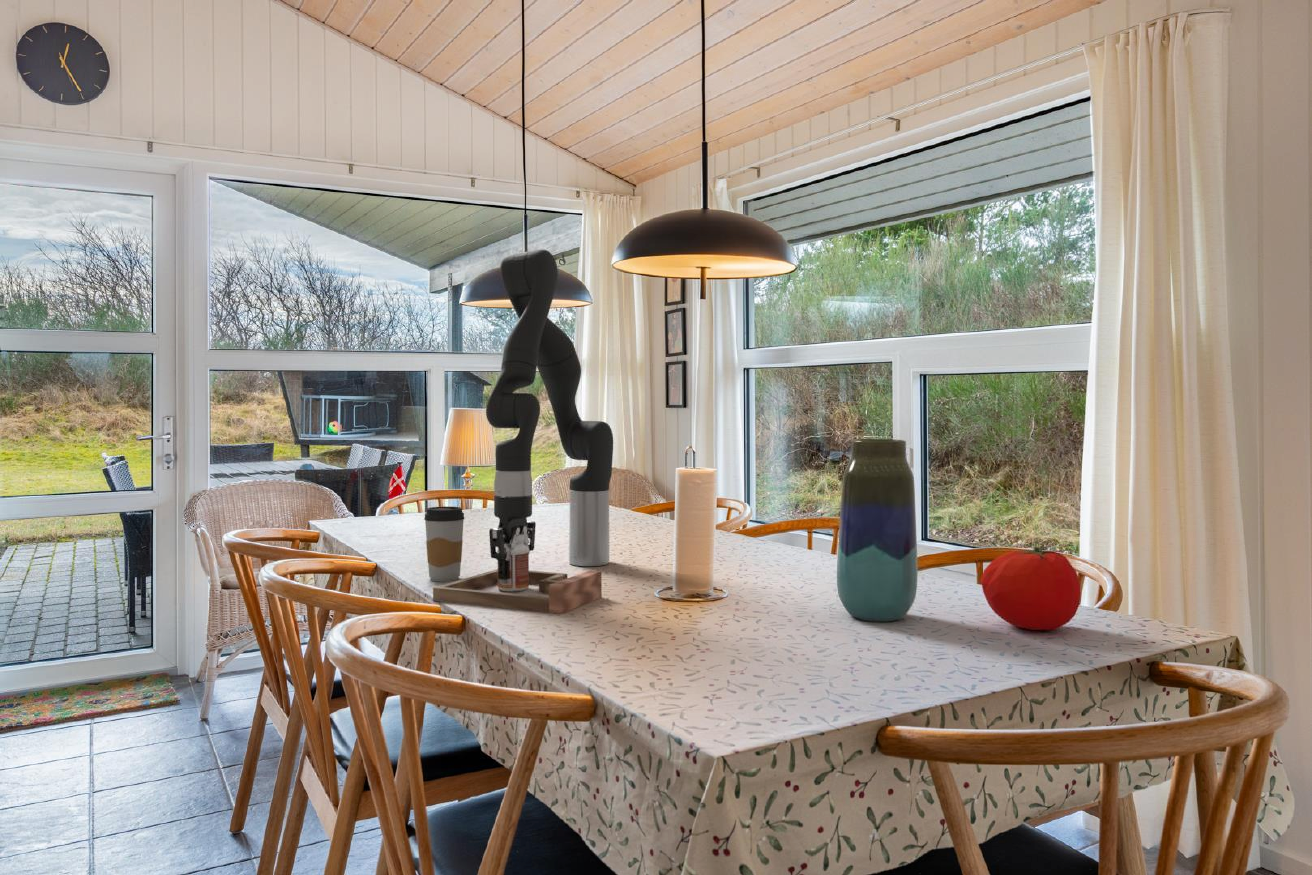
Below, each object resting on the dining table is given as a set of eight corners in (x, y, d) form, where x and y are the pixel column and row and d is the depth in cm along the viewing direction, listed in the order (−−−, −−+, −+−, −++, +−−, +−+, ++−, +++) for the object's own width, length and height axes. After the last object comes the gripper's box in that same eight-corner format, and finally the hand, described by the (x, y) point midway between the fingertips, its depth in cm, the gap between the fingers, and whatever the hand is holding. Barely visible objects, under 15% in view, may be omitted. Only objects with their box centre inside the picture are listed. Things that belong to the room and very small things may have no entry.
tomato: (1084, 626, 160) (1086, 545, 159) (1074, 643, 148) (1076, 557, 148) (988, 615, 168) (990, 538, 167) (971, 630, 156) (973, 548, 156)
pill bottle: (527, 585, 192) (527, 531, 192) (530, 591, 186) (530, 535, 186) (496, 586, 191) (496, 532, 190) (498, 592, 185) (498, 536, 184)
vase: (916, 611, 171) (919, 439, 170) (916, 628, 157) (919, 442, 156) (839, 606, 174) (841, 438, 173) (832, 622, 161) (835, 440, 160)
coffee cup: (469, 575, 203) (469, 506, 202) (457, 583, 195) (457, 510, 194) (432, 574, 204) (431, 505, 203) (418, 582, 195) (418, 510, 195)
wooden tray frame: (500, 579, 199) (500, 555, 199) (618, 590, 188) (618, 565, 188) (433, 600, 177) (433, 573, 177) (561, 613, 167) (561, 585, 166)
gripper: (515, 489, 196) (515, 569, 196) (476, 495, 183) (476, 581, 183) (547, 490, 193) (547, 572, 194) (510, 497, 180) (510, 584, 180)
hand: (513, 576), depth 188 cm, fingers closed on pill bottle, 6 cm apart
